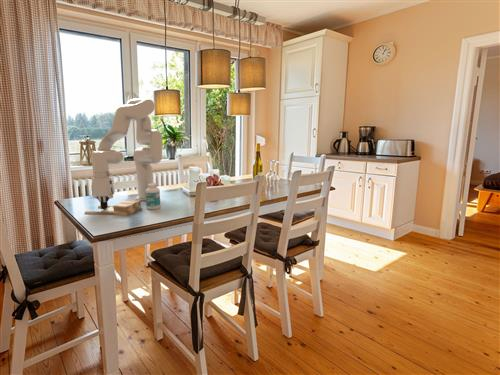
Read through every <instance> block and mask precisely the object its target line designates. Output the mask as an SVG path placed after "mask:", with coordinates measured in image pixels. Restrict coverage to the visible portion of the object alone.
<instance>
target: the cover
mask: <svg viewBox="0 0 500 375" xmlns="http://www.w3.org/2000/svg"><path fill="white" fill-rule="evenodd" d="M100 212H114V209H113V207H109V208H107V209H104V210H102V209H101V210H100Z"/></svg>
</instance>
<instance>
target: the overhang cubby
mask: <svg viewBox="0 0 500 375" xmlns="http://www.w3.org/2000/svg"><path fill="white" fill-rule="evenodd" d="M109 207H113V209H114V212H101V210H100V211H94V210H93V211H91V210H90V211H89V210H86V211H84V215H111V216H113V215H114V216H115V215H117V216H119V215H121V216H123V215H124V216H130V215H131V214H134V213H135V212H137V211H139V210H140V209H142V202H141V200H136V199H125V200H123V201H121V202H119V203H117V204H115V205H108V207H107V208H109ZM97 208H98V209H101V205H97Z"/></svg>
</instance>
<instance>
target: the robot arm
mask: <svg viewBox="0 0 500 375" xmlns="http://www.w3.org/2000/svg"><path fill="white" fill-rule="evenodd" d="M155 107H156V106H155V102H154V100H152V99H151V98H148V97H147V98H146V97H145V98H132V99H130V100H129V99H128V101H126V104H122V105H119V106H117V108H116V109H115V114H114V117H113V119H112V123H111V127H110V129H109V131H108V132H107V133H106V134H105V135H104V136H103V138H102V139H101V141H100V142H99V145H98V148H97V150H94V151H92V152H91V153H90V154H91V155H90V156H91V165H92V176H93V177H92V180H91V194H92V198H93V199H97V200H98V203H99V202H100V204H99V206H101V208H100V209H101V211H102V210H104V209H107V207H108V206H109V205H108V201H109V200H110V199H114V195H115V187H114V182H113V179H112V173H111V172H110V167H109V165H117V164H118V165H119V164H120V163H122V161H123V160H124V154H123V153H122V152H121V151H120V150H118V149H112V147H113V145H114V144H116V142H118V141H119V140H122V139H123V138H125V137H126V136H127V135H128V132H129V127H130V124H131V122H132V121H135V123H136V124H135V125H136V127H135V129H136V130H135V131H136V132H135V134H136V136H135V137H136V138H135V140H136V143H137V144H138V145H139V146H149V147H138V148H136V149H135V150H134V151H133V161H134V164H135V171H136V183H137V185H136V186H137V196H136V197H135V200H141V201H144V202H146V192H145V191H146V189H147V188H148V184H151V183H154V171H153V167H152V165H157V164H160V162H161V161H162V158H163V135H162V134H161V131H159V130H158V129H152V120H151V117H150V114H152V113H154V111H155ZM151 164H152V165H151Z"/></svg>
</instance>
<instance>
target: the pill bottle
mask: <svg viewBox="0 0 500 375" xmlns="http://www.w3.org/2000/svg"><path fill="white" fill-rule="evenodd" d="M157 186H158V185H157V183H156V182H155V183H154V182H153V183H151V184H148V188H147V189H146V191H145V192H146V200H145V202H146V203H145V207H146V209H147V210H158V209H160V208H161V192H160V191H161V190H160V188H158V187H157Z"/></svg>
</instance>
